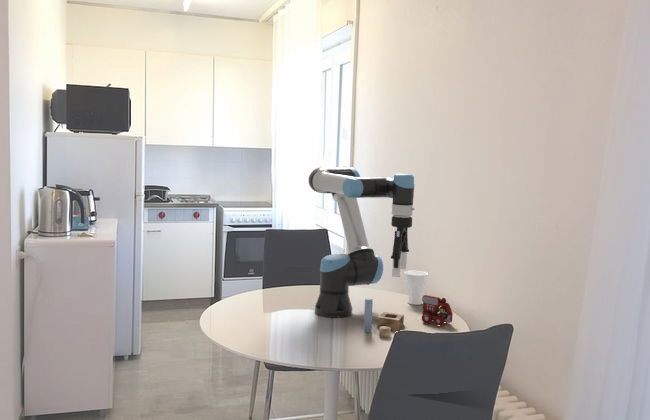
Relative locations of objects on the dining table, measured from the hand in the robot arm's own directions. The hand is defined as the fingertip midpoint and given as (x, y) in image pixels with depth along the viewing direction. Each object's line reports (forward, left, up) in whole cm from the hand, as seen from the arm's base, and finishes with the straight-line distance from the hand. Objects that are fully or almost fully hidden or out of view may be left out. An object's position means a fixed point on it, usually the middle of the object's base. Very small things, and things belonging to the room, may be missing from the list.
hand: (399, 272), depth 212 cm
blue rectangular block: (-9, -10, -21) cm, 25 cm away
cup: (-2, +38, -21) cm, 44 cm away
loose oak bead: (-2, -12, -21) cm, 24 cm away
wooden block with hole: (-3, 0, -21) cm, 21 cm away
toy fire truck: (+12, +12, -21) cm, 27 cm away
